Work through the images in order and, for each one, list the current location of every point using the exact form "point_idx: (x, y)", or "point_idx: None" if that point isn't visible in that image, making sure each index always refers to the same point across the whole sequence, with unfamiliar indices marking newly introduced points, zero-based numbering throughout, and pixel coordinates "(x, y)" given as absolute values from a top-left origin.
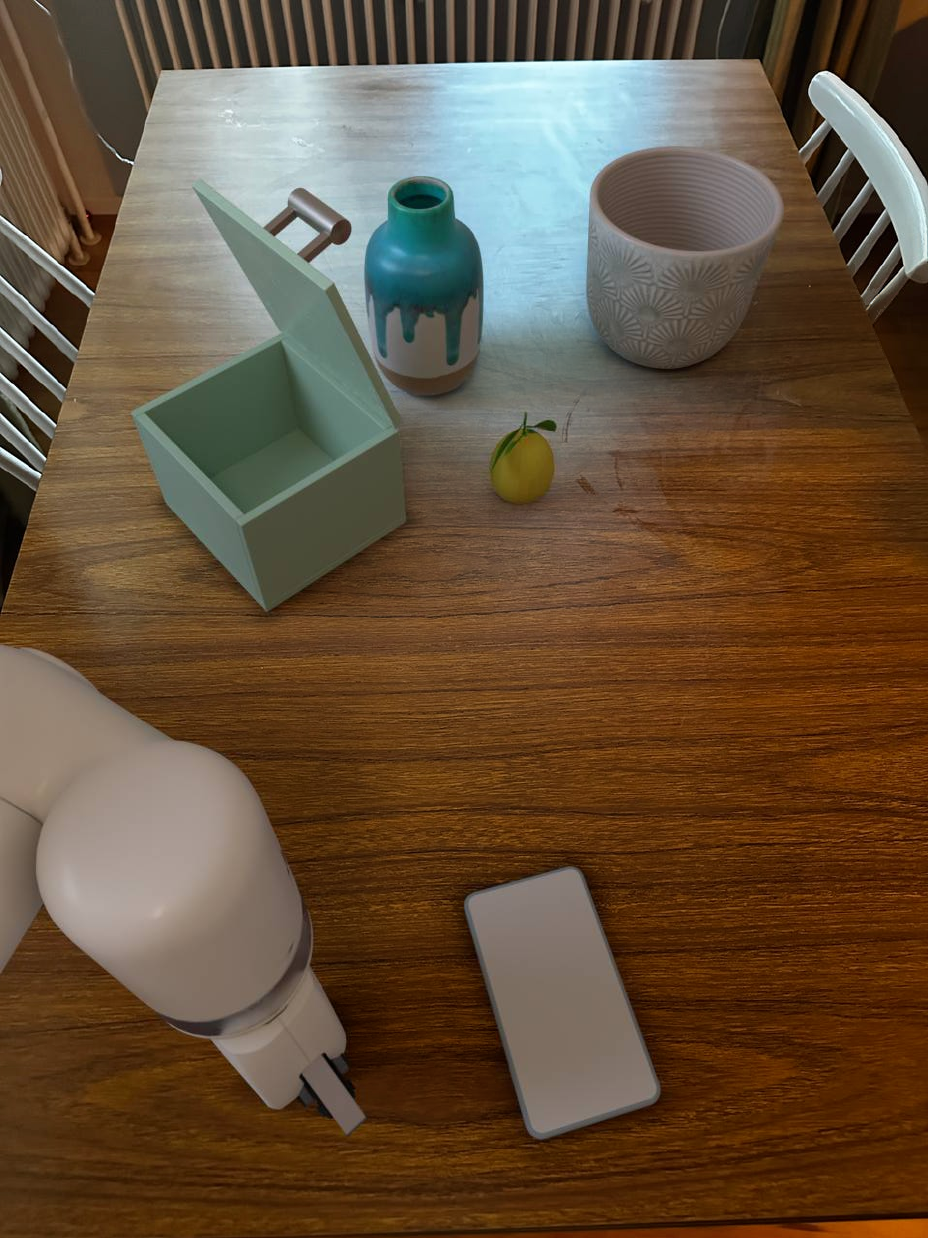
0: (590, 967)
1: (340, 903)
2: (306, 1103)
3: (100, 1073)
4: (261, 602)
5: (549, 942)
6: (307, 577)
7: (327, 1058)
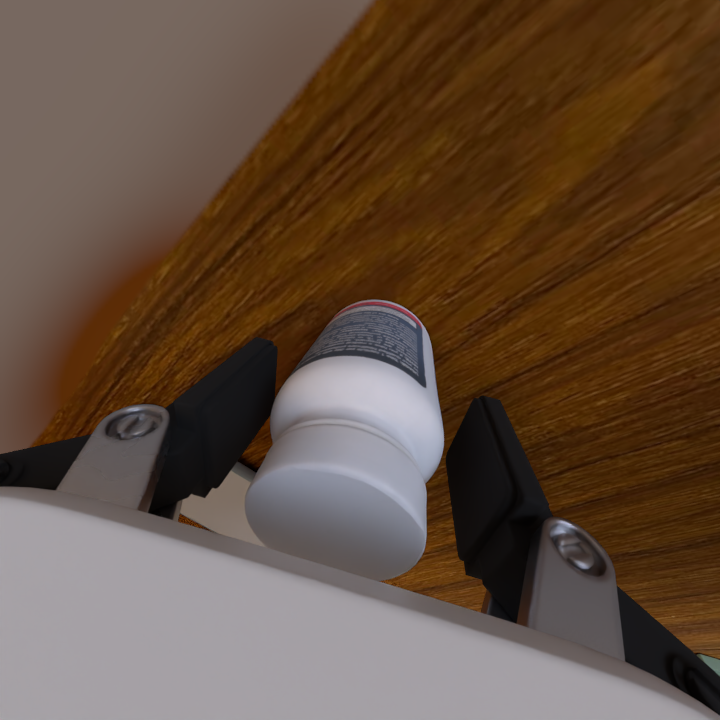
0: (212, 519)
1: (433, 478)
2: (98, 429)
3: (651, 125)
4: (716, 670)
5: (248, 523)
6: None
7: (160, 507)
